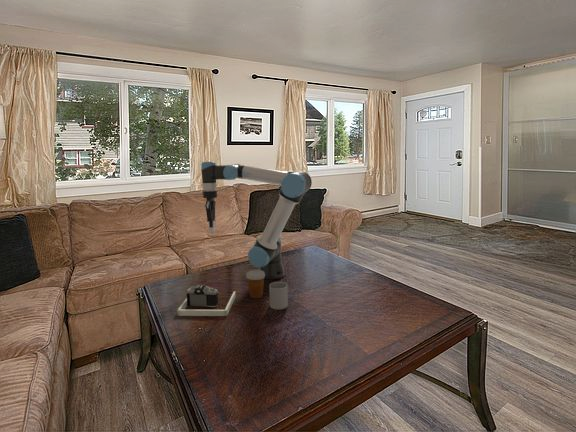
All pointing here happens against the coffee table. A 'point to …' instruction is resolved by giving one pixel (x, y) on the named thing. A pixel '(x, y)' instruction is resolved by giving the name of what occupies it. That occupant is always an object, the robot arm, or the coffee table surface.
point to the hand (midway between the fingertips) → (212, 232)
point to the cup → (278, 295)
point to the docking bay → (190, 312)
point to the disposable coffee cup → (255, 283)
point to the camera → (202, 296)
